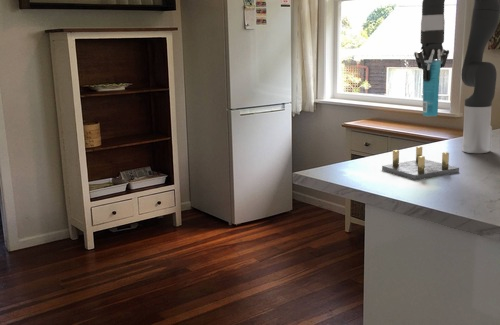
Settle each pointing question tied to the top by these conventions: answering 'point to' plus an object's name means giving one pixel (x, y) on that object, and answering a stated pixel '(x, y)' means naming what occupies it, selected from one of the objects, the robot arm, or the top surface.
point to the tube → (431, 90)
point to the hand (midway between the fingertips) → (431, 80)
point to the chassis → (420, 166)
